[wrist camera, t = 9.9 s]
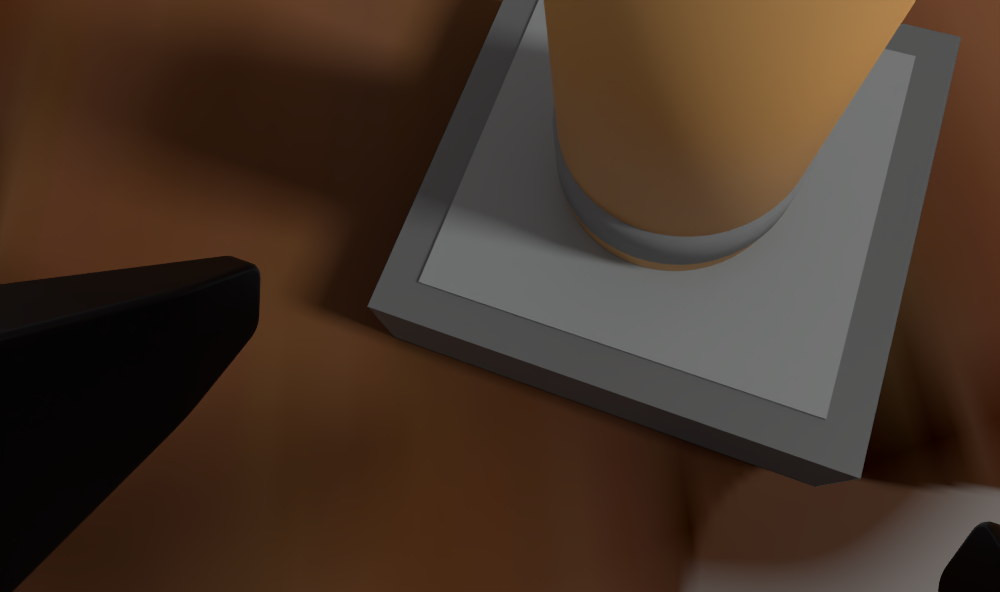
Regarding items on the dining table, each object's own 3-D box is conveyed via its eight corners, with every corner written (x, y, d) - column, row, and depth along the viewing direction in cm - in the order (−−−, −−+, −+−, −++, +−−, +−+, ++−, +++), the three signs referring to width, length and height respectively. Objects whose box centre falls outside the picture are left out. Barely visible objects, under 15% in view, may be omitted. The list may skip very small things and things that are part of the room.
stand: (815, 486, 19) (862, 478, 16) (394, 337, 21) (366, 305, 18) (909, 101, 22) (963, 34, 19) (535, 7, 24) (530, -66, 21)
